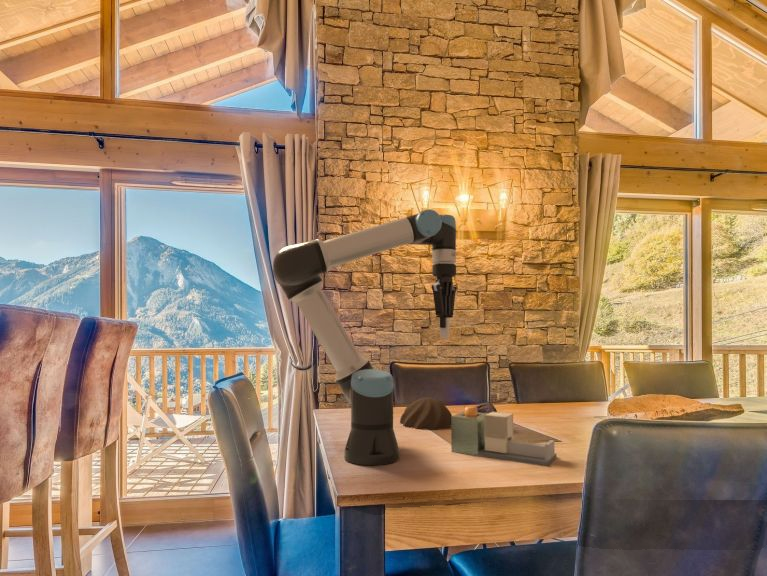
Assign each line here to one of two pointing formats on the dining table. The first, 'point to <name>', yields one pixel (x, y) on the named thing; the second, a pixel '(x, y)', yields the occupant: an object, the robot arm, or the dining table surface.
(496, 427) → the block
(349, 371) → the robot arm
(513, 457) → the grey slide base
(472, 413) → the orange rounded piece
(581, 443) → the dining table surface
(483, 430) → the green square holder
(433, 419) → the decorative dome
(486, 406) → the rock
